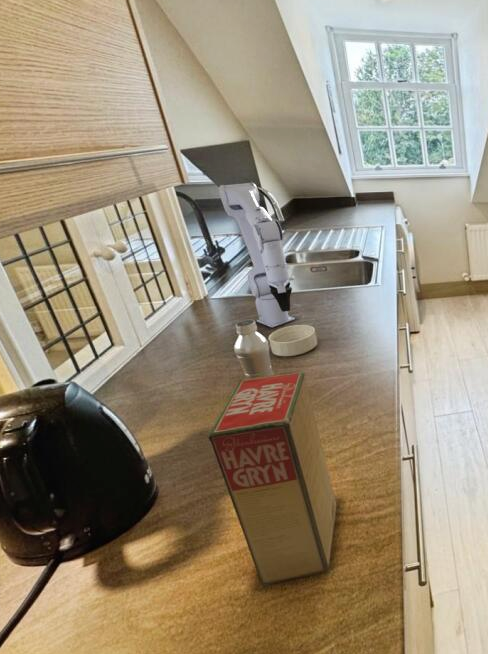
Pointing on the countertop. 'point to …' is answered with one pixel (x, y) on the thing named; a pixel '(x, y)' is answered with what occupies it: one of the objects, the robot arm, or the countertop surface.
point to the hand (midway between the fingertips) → (285, 308)
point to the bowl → (293, 340)
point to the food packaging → (277, 476)
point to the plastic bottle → (252, 350)
